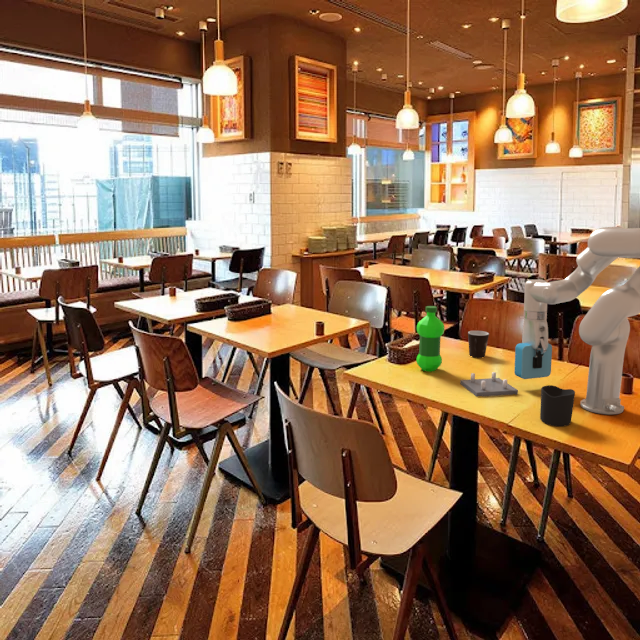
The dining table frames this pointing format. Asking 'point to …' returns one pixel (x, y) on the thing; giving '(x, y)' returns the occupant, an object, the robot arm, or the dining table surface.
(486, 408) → the dining table surface
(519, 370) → the blue rounded block
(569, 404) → the pen holder
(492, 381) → the pin tray
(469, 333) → the coffee mug
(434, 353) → the plastic bottle
